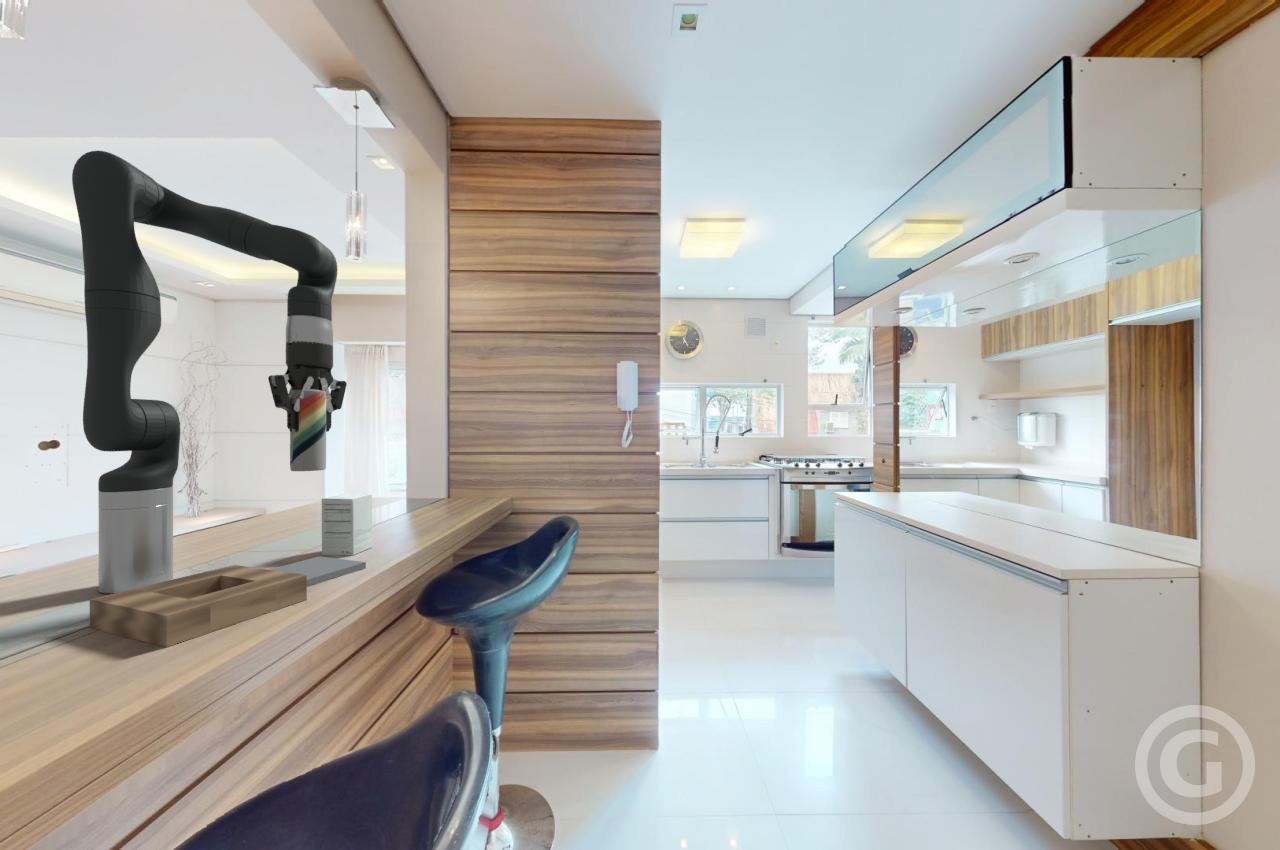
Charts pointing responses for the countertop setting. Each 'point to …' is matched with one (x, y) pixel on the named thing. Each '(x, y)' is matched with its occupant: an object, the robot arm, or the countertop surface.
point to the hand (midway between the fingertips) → (309, 431)
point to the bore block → (195, 603)
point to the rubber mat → (322, 568)
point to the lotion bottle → (310, 428)
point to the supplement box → (346, 524)
